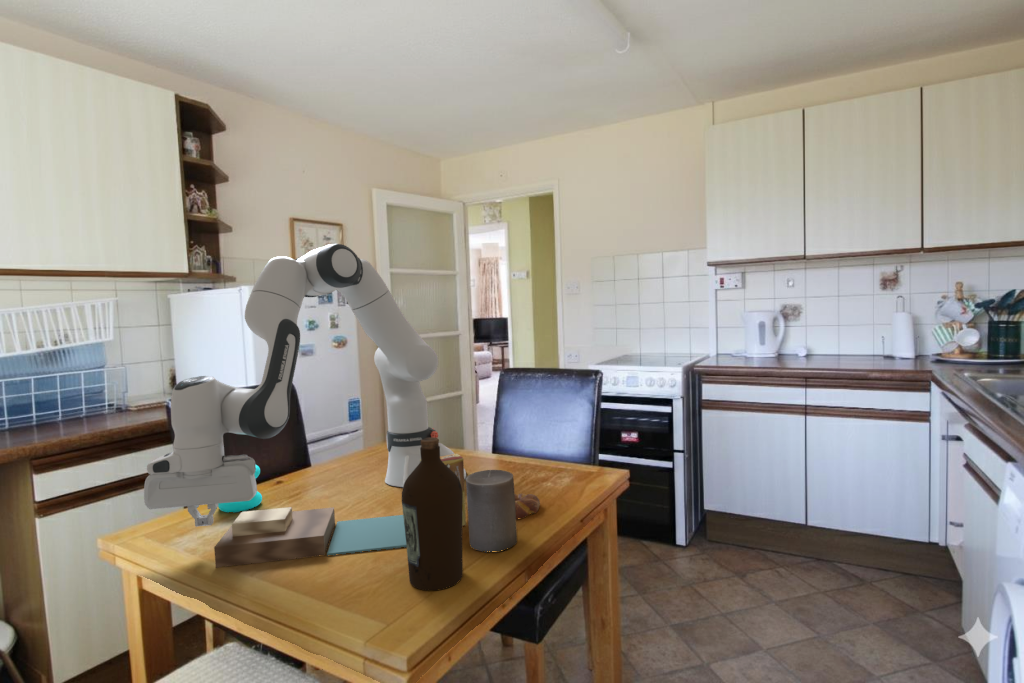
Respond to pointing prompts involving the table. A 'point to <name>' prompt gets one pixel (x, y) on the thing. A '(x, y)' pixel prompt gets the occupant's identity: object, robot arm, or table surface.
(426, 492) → the olive oil
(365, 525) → the teal mat
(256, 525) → the cream block
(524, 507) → the pretzel
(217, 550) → the walnut board
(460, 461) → the candy box
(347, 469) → the table surface
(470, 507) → the pillar candle
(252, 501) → the donuts
